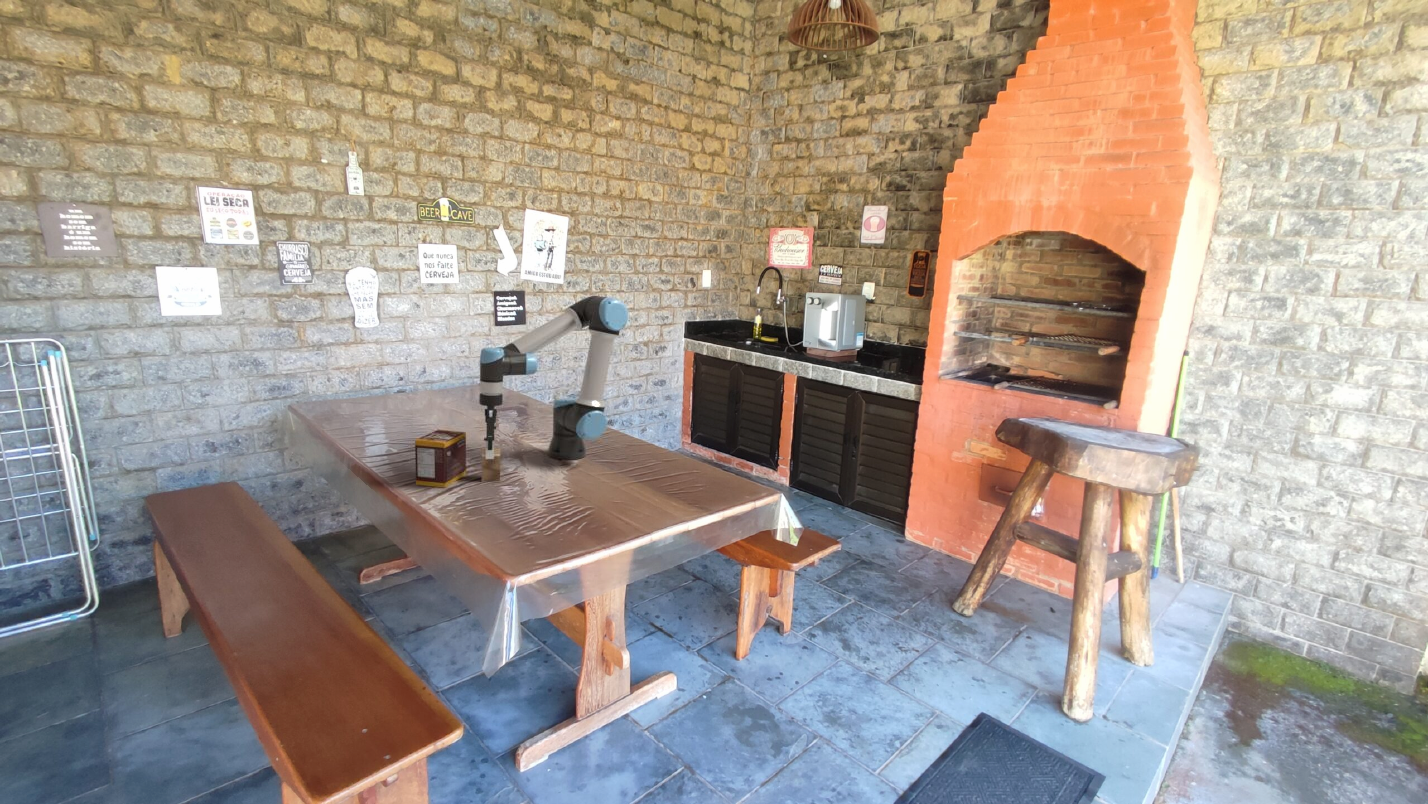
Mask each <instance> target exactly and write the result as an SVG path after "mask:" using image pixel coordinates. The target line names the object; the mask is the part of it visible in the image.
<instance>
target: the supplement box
mask: <svg viewBox="0 0 1428 804" xmlns="http://www.w3.org/2000/svg"><path fill="white" fill-rule="evenodd" d="M466 436H467V432H466V431H455V430H447V429H436V430H434V431H432V432H430V433H428V434H426V435H423V436H421V437H419V438H417V439H415V441H414V450H415V451H414V455H415V458H414V459H415V485H416V486H426V487H434V488H435V487H436V488H444V489H445V488H446V487H448V486H450V485H451V484H454V483H455V482H456V481H457V480H459V479H462V478H463V477H464V476H466V475H467V437H466Z"/></svg>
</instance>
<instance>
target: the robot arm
mask: <svg viewBox="0 0 1428 804" xmlns="http://www.w3.org/2000/svg"><path fill="white" fill-rule="evenodd" d="M628 321H629V311H628V308H627V307H626V305H625V303H623V301H621V300H619V299H617V298H614V297H608V296H600V295H590V296H587V297H585V298H583V299H581V300H578V301H577V302H575V303H573V304H571V305H570V306H568V307H566V308H565V310H564V312H563V313H561V314H559V315H557V316H556V317H554V318H552V319H550V320H549V321H547V322H545V323H544V324H542V325H540V326H538V327H537V328H535V329H533V330H531V331H530V332H528V333H526V334H525V335H523V336H521V337H519V338H517V339H515V340H514V341H512V342H511V343H509V344H507V345H504V346H497V347H492V346H491V347H483V348H482V349H481V350H480V355H479V383H477V386H479V392H480V393H479V401H478V403H479V405H481V406H486V408H484V417H485V419H484V420H485V421H484V422H485V423H486V426H485V432H486V433H485V437H484V438H483V441H485V449H486V459H494V449H495V439H496V438H495V430H497V426H495V424H496V422H497V415H498V414H497V413H498V410H497V408H495V407H499V406H502V405H503V403H504V401H503V399H504V398H503V397H504V396H503V393H504V376H505V377H506V376H530V375H534V374H536V372H537V371H538V367H539V362H538V359H537V356H536V355H535V353H537V352H539V351H541V350H543V349H544V348H546V347H547V346H550V345H551V344H553V343H554V342H556V341H558V340H559V339H561V338H563V337H564V336H567V335H568V334H570V333H572V332H573V331H575V330H576V331H581V330H582V329H584V328H586V327H588V332H589V333H590V335H591V336H590V340H589V341H590V342H589V346H588V352H587V357H586V362H585V366H584V372H583V377H582V378H583V379H582V382H581V388H580V391H579V392H580V393H579V397H565V398H564V397H563V398H558V399H555V400H554V402H553V407H552V410H553V411H552V414H553V415H552V437H551V439H550V443H549V445H548V447H547V456H549V457H550V458H552V459H556V460H562V461H563V460H565V461H566V460H567V461H568V460H572V461H573V460H578V459H583V458H585V457H586V456H587V447H586V444H585V443H586V442H585V440H588V441H592V440H597V439H598V438H600V437H601V436H602V435H603V434H604V433H605V432H606V430H607V427H608V418H607V415H606V414H605V408H606V405H605V404H604V402H603V398H604V394H605V388H606V381H607V378H608V377H607V376H608V372H609V366H610V362H611V356H612V351H613V346H614V341H615V340H616V339H617V338H618V337H619V336H620V331H621V330H623V329H624V328H625V326H626V325H627V324H628ZM584 439H585V440H584Z"/></svg>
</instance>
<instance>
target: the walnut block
mask: <svg viewBox="0 0 1428 804" xmlns="http://www.w3.org/2000/svg"><path fill="white" fill-rule="evenodd" d="M481 482H482V483H486V482H489V483H490V482H501V448H494V459H486V448H482V449H481Z"/></svg>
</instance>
